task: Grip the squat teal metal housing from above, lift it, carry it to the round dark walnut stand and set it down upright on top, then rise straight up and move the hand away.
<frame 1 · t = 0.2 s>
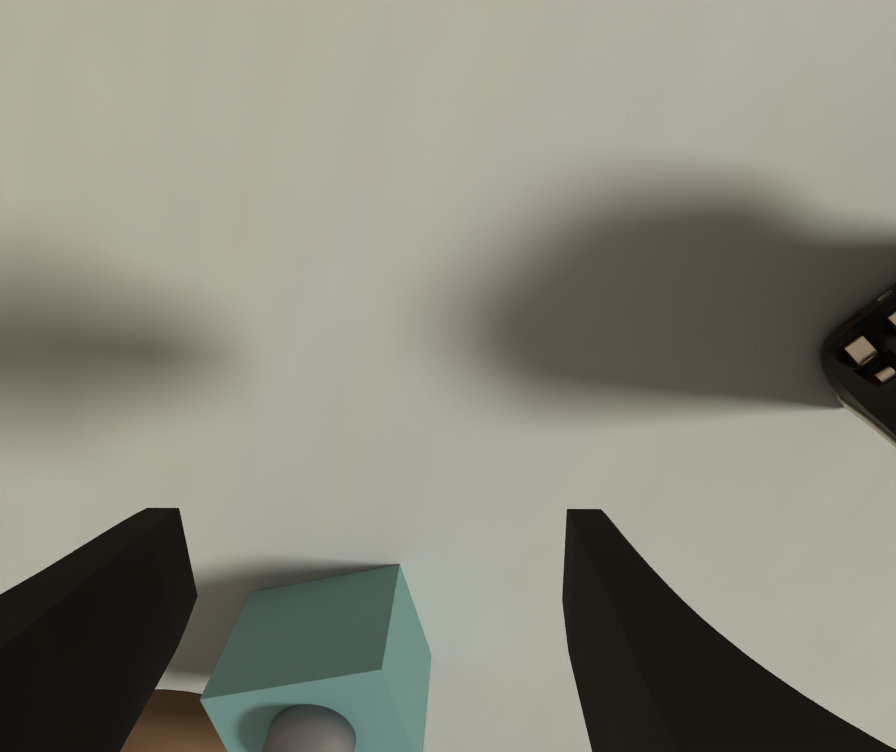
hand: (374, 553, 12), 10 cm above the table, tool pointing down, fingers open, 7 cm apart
housing: (342, 622, 26), on the table
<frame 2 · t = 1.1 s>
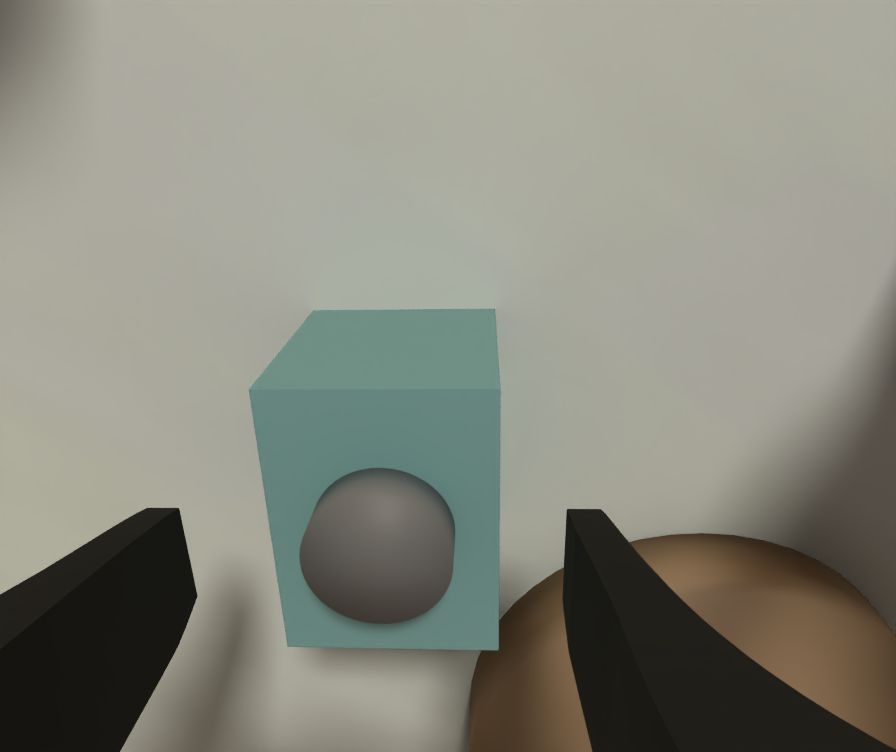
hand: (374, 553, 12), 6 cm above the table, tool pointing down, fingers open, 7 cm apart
stand: (677, 706, 21), on the table
housing: (409, 417, 17), on the table
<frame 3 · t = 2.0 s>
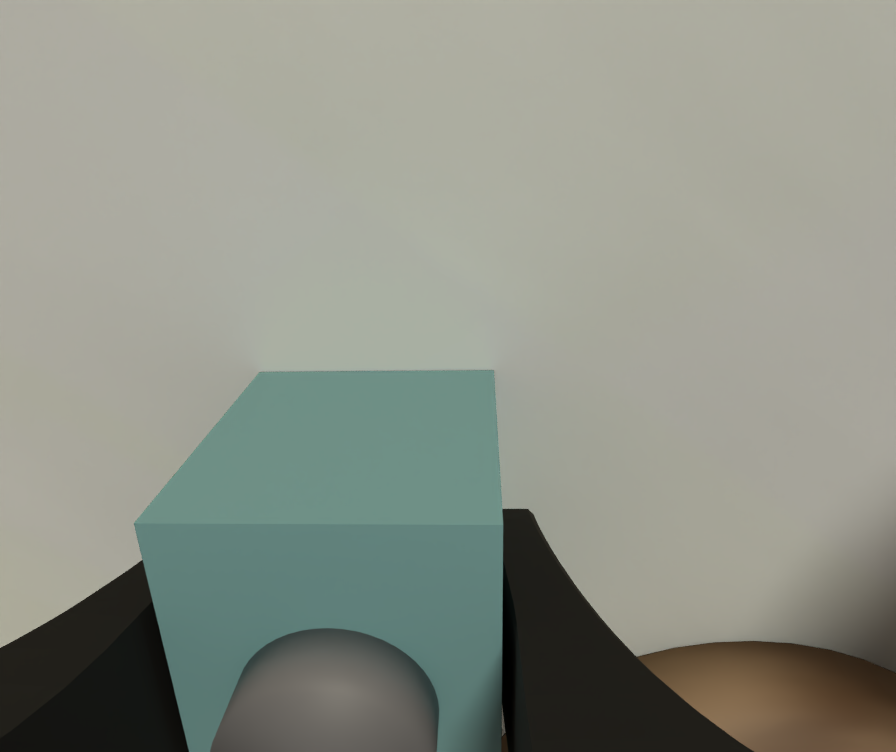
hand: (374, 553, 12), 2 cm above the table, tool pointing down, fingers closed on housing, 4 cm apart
housing: (385, 505, 14), on the table, touching gripper
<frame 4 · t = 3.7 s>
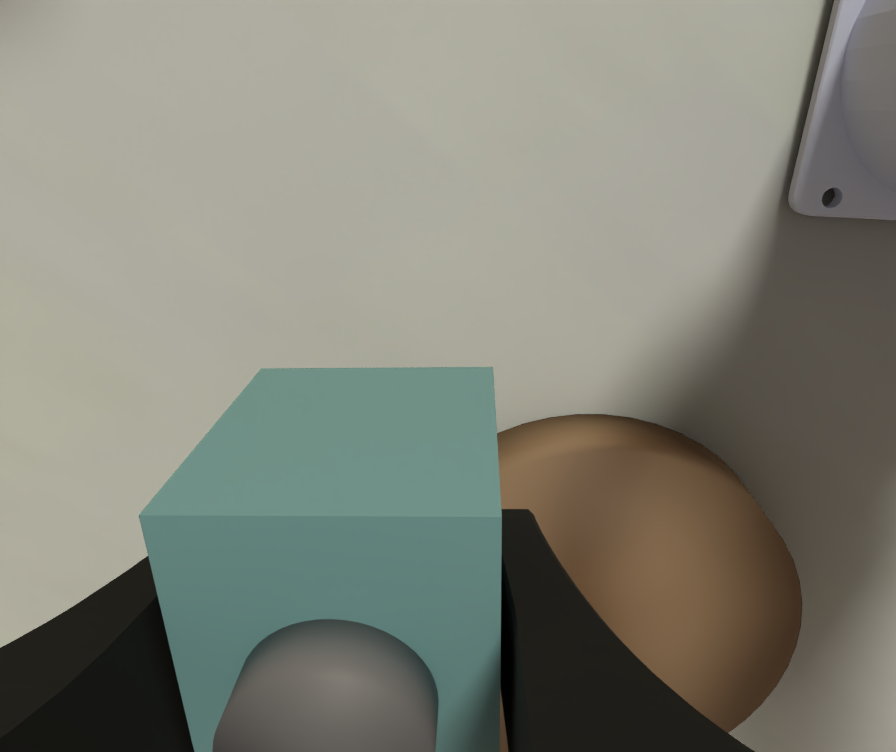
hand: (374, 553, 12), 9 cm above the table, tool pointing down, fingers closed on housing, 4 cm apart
stand: (578, 580, 23), on the table
housing: (385, 500, 14), point 7 cm above the table, touching gripper
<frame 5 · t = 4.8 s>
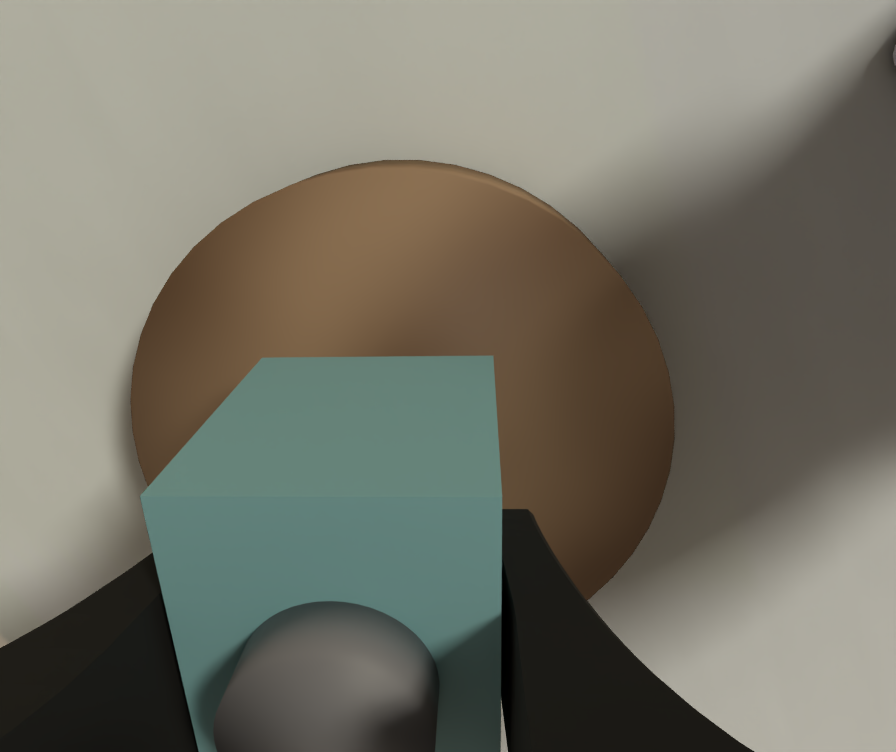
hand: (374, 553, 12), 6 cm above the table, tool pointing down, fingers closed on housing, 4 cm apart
stand: (409, 406, 18), on the table
housing: (386, 490, 14), point 5 cm above the table, touching gripper
when the fingers open (6 cm above the table, at t = 5.4 s): housing drops 1 cm, resting on stand.
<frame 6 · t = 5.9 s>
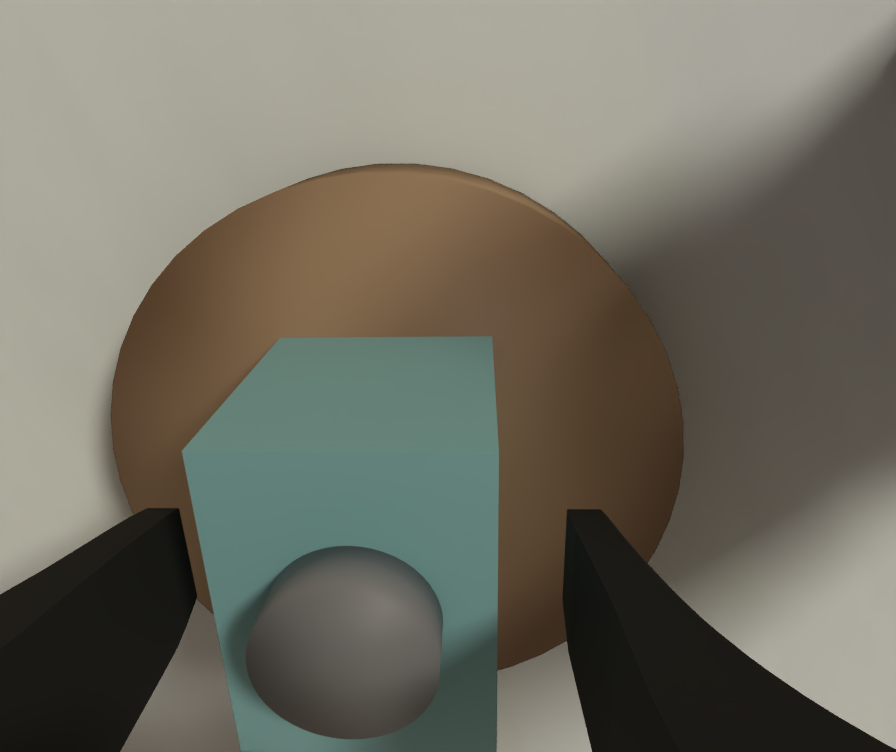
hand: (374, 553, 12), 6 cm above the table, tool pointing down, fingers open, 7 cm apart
stand: (405, 421, 17), on the table
housing: (392, 461, 15), point 2 cm above the table, touching stand
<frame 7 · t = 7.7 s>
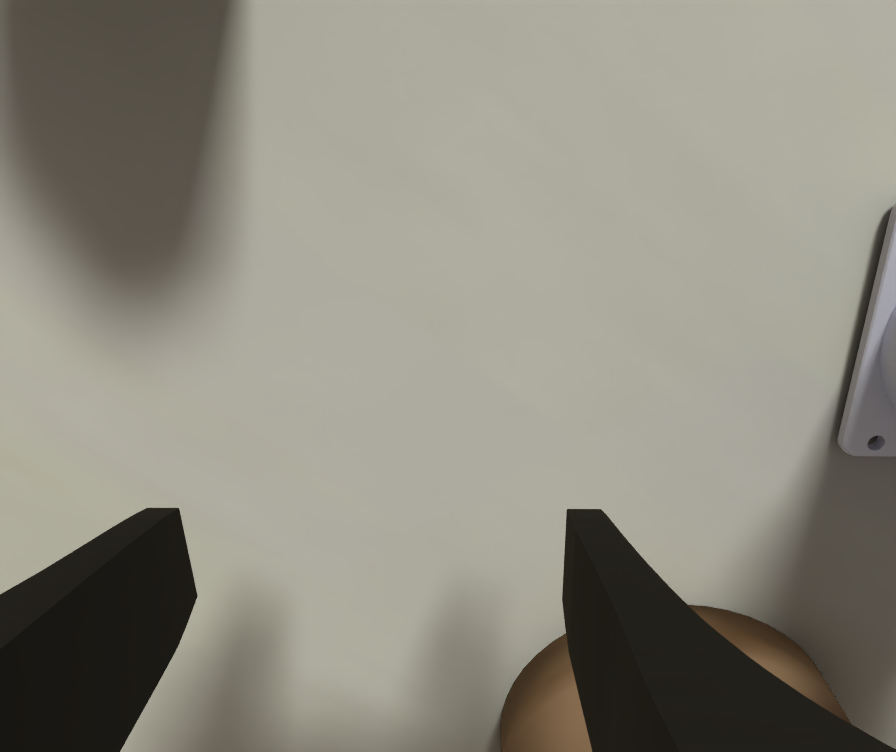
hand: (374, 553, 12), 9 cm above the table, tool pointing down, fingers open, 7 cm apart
stand: (662, 733, 26), on the table
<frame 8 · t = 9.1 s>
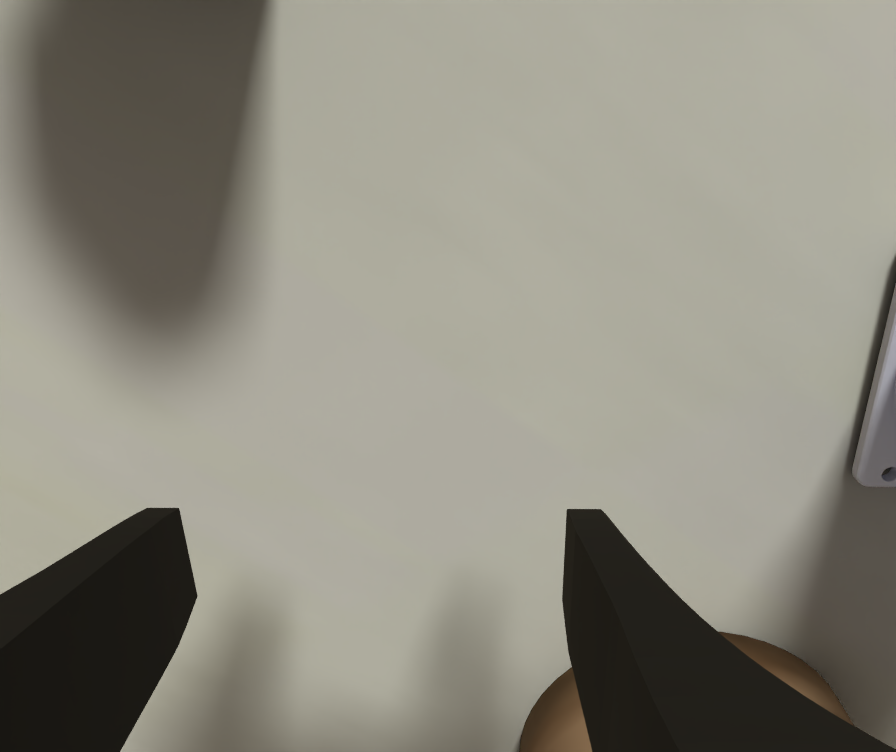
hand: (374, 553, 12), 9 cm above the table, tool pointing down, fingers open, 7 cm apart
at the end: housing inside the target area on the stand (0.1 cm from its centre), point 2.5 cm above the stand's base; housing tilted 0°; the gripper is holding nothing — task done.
